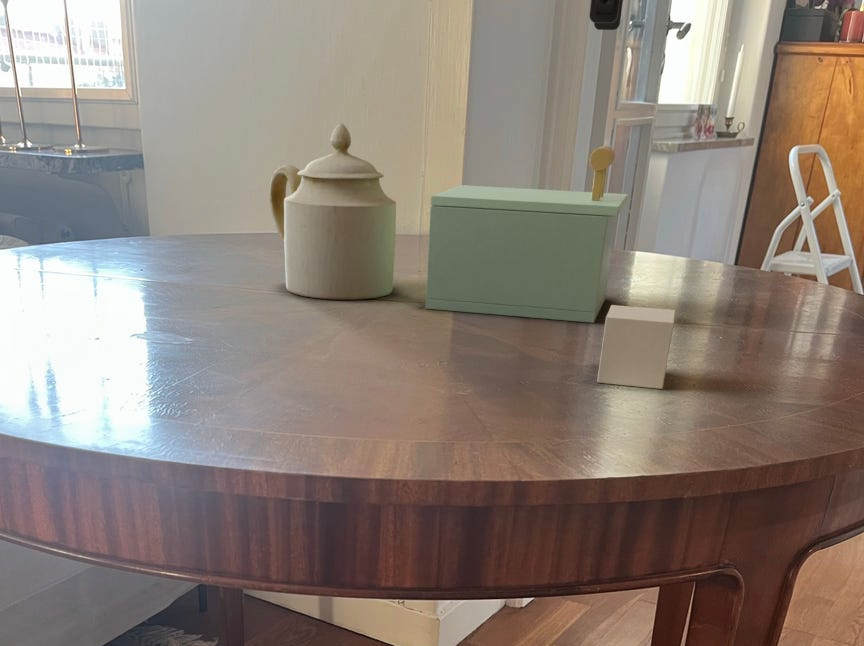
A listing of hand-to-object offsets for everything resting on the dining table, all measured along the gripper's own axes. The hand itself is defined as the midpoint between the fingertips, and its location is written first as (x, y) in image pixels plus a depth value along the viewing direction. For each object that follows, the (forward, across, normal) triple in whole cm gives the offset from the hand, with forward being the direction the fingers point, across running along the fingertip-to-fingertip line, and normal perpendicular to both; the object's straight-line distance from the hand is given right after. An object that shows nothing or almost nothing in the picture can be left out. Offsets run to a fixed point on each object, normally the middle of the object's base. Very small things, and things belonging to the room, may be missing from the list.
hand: (604, 26), depth 80 cm
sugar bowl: (+23, +2, +26) cm, 34 cm away
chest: (+23, +2, +5) cm, 24 cm away
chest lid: (+14, +2, +5) cm, 15 cm away
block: (+23, -24, -6) cm, 34 cm away
